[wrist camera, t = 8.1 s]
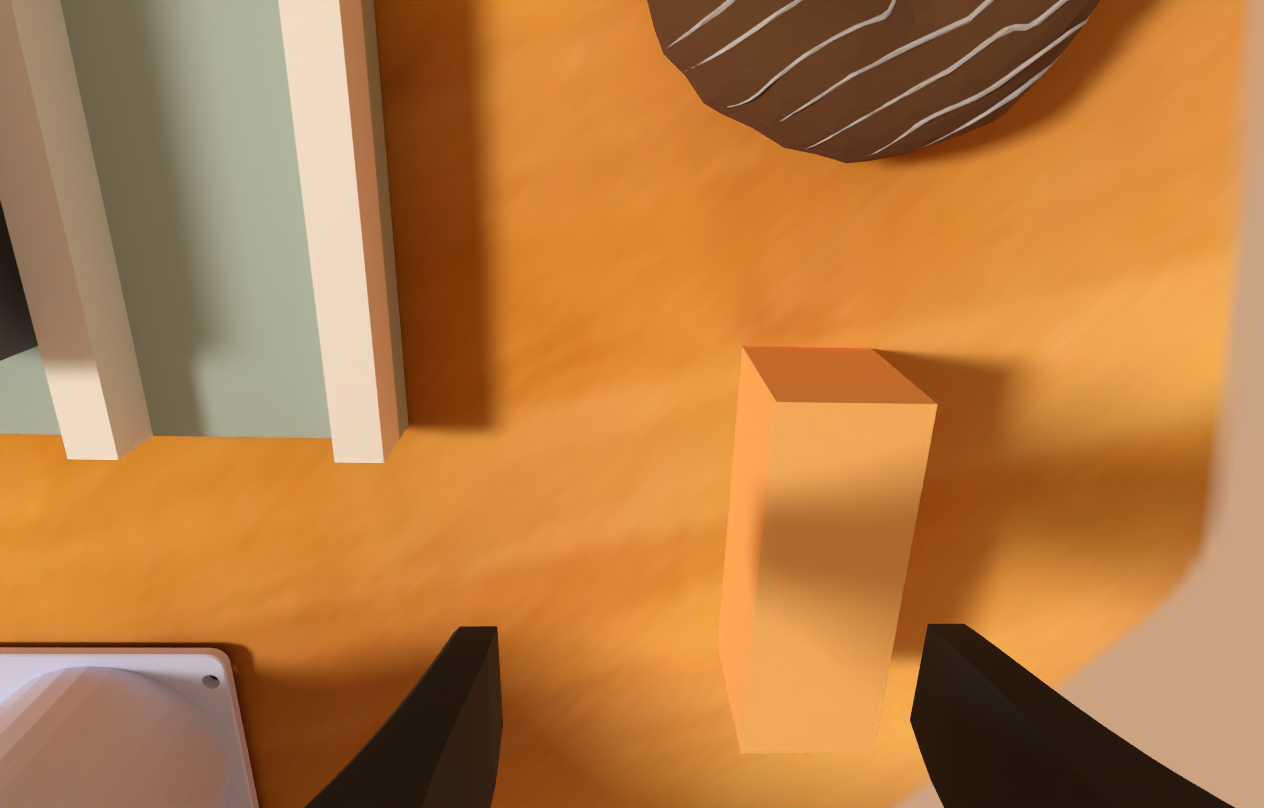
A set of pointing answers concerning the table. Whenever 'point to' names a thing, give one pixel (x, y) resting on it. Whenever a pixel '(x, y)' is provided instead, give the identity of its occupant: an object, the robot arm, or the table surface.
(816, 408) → the wooden block
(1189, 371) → the table surface
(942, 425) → the table surface
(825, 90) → the donut
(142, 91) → the comb board
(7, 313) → the dark grey block
